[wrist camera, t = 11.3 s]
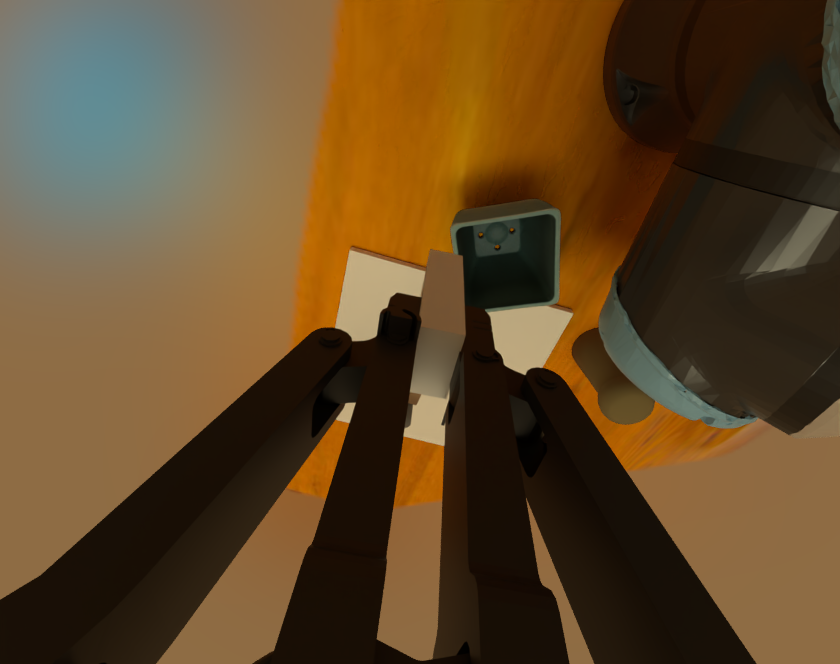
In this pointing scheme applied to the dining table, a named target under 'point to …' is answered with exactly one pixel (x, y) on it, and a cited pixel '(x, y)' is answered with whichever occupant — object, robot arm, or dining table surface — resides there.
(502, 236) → the flower pot
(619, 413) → the cork
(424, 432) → the card
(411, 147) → the dining table surface
